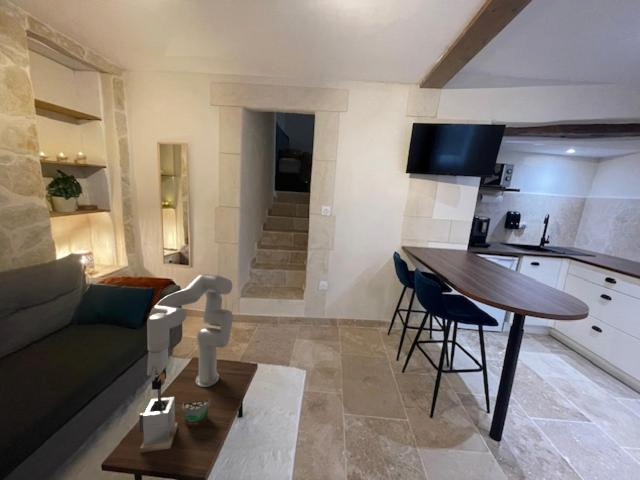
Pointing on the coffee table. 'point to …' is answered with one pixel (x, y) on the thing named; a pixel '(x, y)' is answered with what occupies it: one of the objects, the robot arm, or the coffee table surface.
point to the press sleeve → (158, 421)
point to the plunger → (160, 390)
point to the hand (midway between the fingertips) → (159, 383)
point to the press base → (160, 446)
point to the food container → (196, 413)
